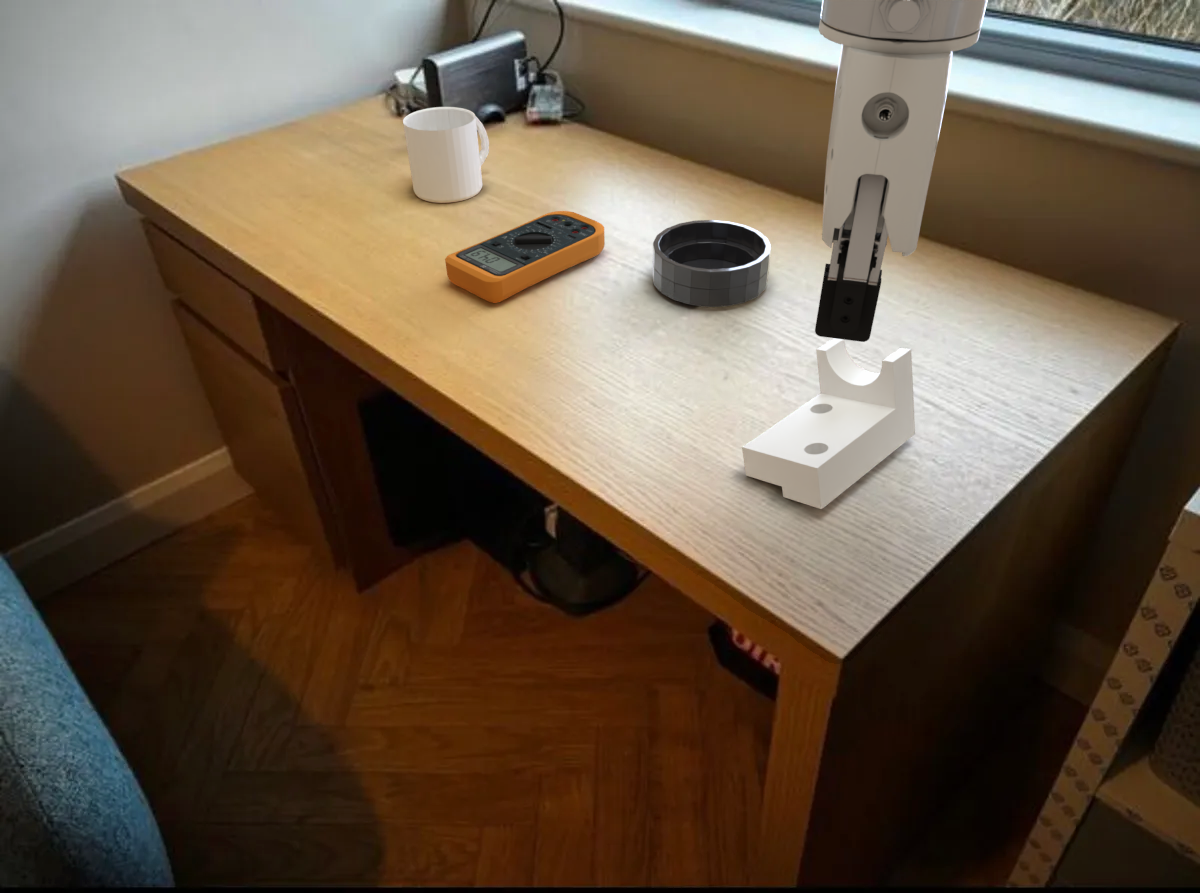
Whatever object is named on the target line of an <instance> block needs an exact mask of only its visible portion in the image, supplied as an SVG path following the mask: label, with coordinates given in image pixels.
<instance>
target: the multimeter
mask: <svg viewBox="0 0 1200 893" xmlns="http://www.w3.org/2000/svg"><path fill="white" fill-rule="evenodd" d="M605 242H606V241H605V227H604V225H603V224H602V223H600V222H599V221H596V220H595V219H592V218H590V217H587V216H585V215H582V214H579V213H577V212H574V211H569V210H556V211H551V212H548V213H545V214H542V215H540V216H538V217H535V218H533V219H531V220H529V221H527V222H524V223H522V224H520V225H517V226H515V227H513V228H511V229H509V230H506V231H503V232H501V233H499V234H497V235H495V236H492V237H489V238H488V239H484V240H483V241H480V242H478V243H475V244H473V245H470V246H468V247H464V248H463V249H461V250H458V251H455V252H453V253H450V254H448V255H447V256H445V258H444V262H445V268H446V275H447V278H448V280H449V282H451V284H454V285H455V286H457V287H459V288H461V289H463V290H465V291H466V292H468V293H471V294H473V295H475V296H477V297H479V298H481V299H483V300H485V301H487V302H489V303H492V304H493V303H494V304H499V303H500V302H503V301H505V300H506V299H508V298H510V297H512V296H514V295H516V294H518V293H520V292H522V291H523V290H526V289H527V288H530V287H531V286H534V285H535V284H538V283H540V282H542V281H544V280H546V279H548V278H550V277H553V276H554V275H556V274H559V273H561V272H562V271H565V270H568V269H570V268H572V267H574V266H576V265H579V264H581V263H583V262H586V261H588V260H590V259H593V258H595V257H597V256H598V255H600V254H601V252H603V250H604V248H605V245H606V244H605Z"/></svg>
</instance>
